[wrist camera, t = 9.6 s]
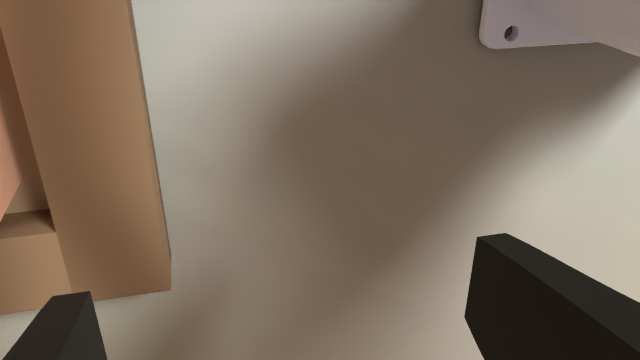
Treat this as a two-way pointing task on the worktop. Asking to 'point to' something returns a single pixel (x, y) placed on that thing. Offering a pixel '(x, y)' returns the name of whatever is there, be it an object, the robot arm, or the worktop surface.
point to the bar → (7, 166)
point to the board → (78, 156)
